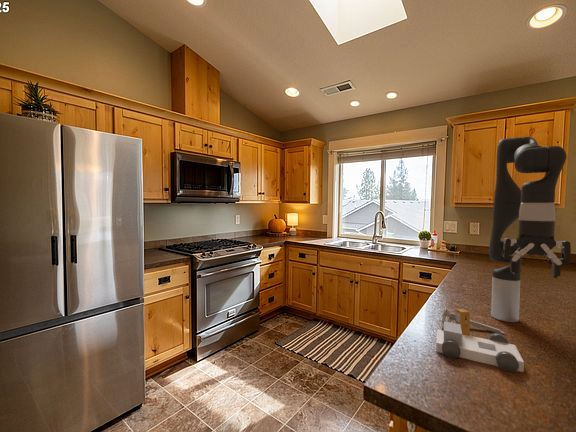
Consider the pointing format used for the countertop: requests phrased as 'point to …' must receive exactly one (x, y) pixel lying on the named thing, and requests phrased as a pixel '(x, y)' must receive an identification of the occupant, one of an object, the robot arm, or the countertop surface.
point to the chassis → (479, 348)
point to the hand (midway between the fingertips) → (533, 275)
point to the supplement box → (463, 320)
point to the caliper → (453, 317)
